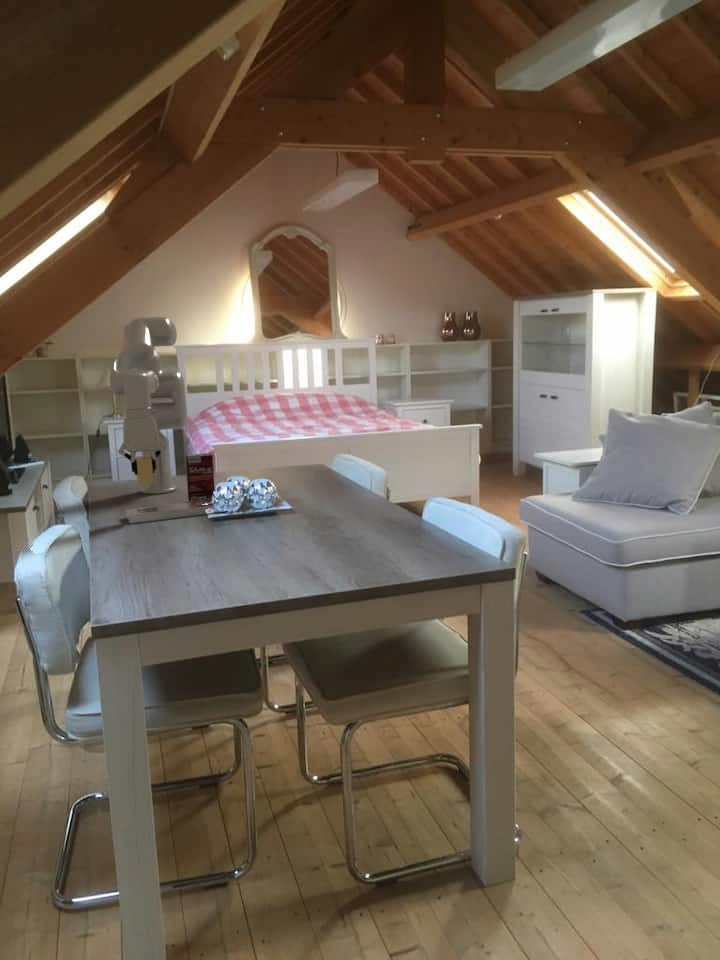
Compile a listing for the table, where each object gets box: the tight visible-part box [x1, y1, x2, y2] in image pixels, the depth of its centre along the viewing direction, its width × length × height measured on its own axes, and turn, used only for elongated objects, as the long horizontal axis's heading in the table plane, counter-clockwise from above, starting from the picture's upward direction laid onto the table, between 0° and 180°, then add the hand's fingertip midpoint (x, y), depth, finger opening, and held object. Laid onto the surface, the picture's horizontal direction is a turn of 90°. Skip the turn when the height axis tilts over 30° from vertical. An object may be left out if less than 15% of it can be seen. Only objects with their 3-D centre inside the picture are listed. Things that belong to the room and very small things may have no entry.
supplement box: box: [185, 452, 216, 502], centre depth 270 cm, size 9×5×16 cm, turn 108°
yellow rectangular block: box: [135, 456, 154, 487], centre depth 247 cm, size 4×4×8 cm
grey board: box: [125, 499, 214, 524], centre depth 253 cm, size 9×30×3 cm, turn 113°
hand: (144, 472), depth 247 cm, fingers closed on yellow rectangular block, 4 cm apart
